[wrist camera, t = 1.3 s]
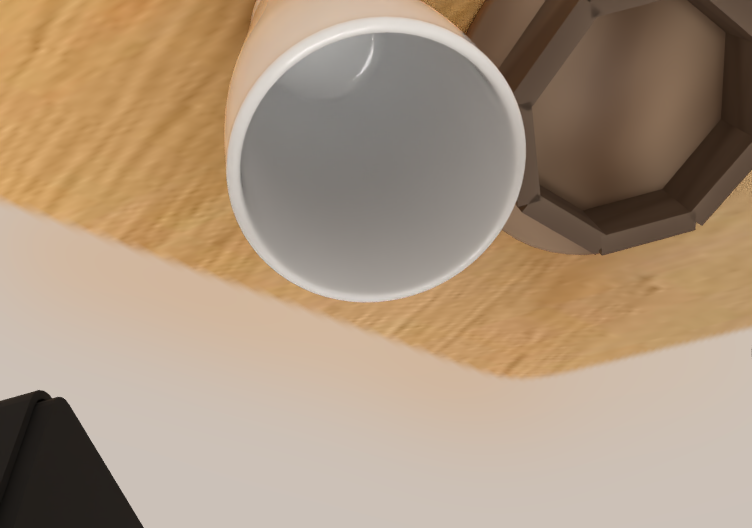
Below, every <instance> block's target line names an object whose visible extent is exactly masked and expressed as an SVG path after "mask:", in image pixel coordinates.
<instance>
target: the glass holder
mask: <svg viewBox="0 0 752 528" xmlns="http://www.w3.org/2000/svg"><path fill="white" fill-rule="evenodd" d="M466 35H467V36H468V37H469V38H470V39H471V40H472V41H473V42H474V43H475V45H476V46H477V47H478V48H479V49H480V50H481V51H482V52H483V53H484V54H485V55H486V56H487V57H488V58H489V59H490V60H491V61H492V62H493V63H494V64H495V66H496V67H497V68H498V70H499V71H500V72H501V74H502V75H503V76H504V78H505V79H506V81H507V83H508V85H509V86H510V88H511V90H512V92H513V94H514V96H515V99H516V101H517V103H518V106H519V109H520V112H521V115H522V120H523V125H524V130H525V139H526V162H525V171H524V176H523V181H522V185H521V189H520V192H519V195H518V198H517V201H516V203H515V206H514V208H513V210H512V212H511V214H510V216H509V218H508V220H507V222H506V224H505V225H504V227H503V228H502V230H503V231H505V232H506V233H508V234H509V235H511V236H512V237H514V238H515V239H517V240H519V241H521V242H524V243H526V244H528V245H530V246H532V247H536V248H539V249H542V250H546V251H549V252H555V253H562V254H573V255H589V254H595V255H596V254H599V253H600V254H601V255H606V254H609V253H613V252H617V251H620V250H624V249H628V248H631V247H635V246H639V245H642V244H646V243H650V242H653V241H657V240H661V239H664V238H668V237H672V236H675V235H679V234H683V233H686V232H690V231H694V230H695V226H696V222H697V223H698V224H700V225H703V224H704V223H705V222H706V221H707V220H708V218H709V217H710V216H711V215H712V214H713V213H714V212H715V211H716V209H717V208H718V207H719V206H720V205H721V204H722V203H723V201H724V200H725V199H726V198H727V197H728V196H729V195H730V194H731V192H732V191H733V190H734V189H735V188H736V187H737V186H738V185H739V183H740V182H741V181H742V180H743V179H744V178H745V177H746V175H747V174H748V173H749V172H750V171H751V170H752V0H486V1H485V2H484V4H483V5H482V6H481V8H480V10H479V11H478V13H477V15H476V17H475V18H474V20H473V22H472V24H471V25H470V27H469V29H468V31H467V33H466Z"/></svg>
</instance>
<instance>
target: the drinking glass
mask: <svg viewBox="0 0 752 528" xmlns="http://www.w3.org/2000/svg"><path fill="white" fill-rule="evenodd" d="M224 149H225V165H226V180H227V187H228V194H229V198H230V202H231V206H232V209H233V212H234V215H235V217H236V220H237V222H238V224H239V226H240V228H241V230H242V232H243V234H244V236H245V237H246V239H247V240H248V242H249V244H250V245H251V246H252V248H253V249H254V250H255V251H256V253H257V254H258V255H259V256H260V257H261V258H262V259H263V260H264V261H265V262H266V263H267V264H268V265H269V266H270V267H271V268H272V269H273V270H275V271H276V272H277V273H278V274H280V275H281V276H283V277H284V278H285V279H287V280H288V281H290V282H292V283H294V284H295V285H297V286H299V287H301V288H303V289H306V290H308V291H310V292H312V293H315V294H318V295H321V296H324V297H328V298H333V299H337V300H343V301H350V302H382V301H391V300H396V299H401V298H405V297H409V296H412V295H416V294H419V293H421V292H424V291H427V290H429V289H431V288H434V287H436V286H438V285H440V284H442V283H444V282H445V281H447V280H449V279H451V278H452V277H454V276H455V275H457V274H458V273H460V272H461V271H463V270H464V269H465V268H467V267H468V266H469V265H470V264H472V263H473V262H474V261H475V260H476V259H477V258H478V257H479V256H480V255H481V254H482V253H483V252H484V251H485V250H486V249H487V248H488V247H489V246H490V245H491V243H492V242H493V241H494V240H495V238H496V237H497V236H498V234H499V233H500V231H501V230H502V228H503V227H504V225H505V224H506V222H507V220H508V218H509V216H510V214H511V212H512V210H513V208H514V206H515V203H516V201H517V198H518V195H519V192H520V189H521V185H522V181H523V176H524V171H525V162H526V139H525V130H524V125H523V120H522V115H521V112H520V109H519V106H518V103H517V101H516V99H515V96H514V94H513V92H512V90H511V88H510V86H509V85H508V83H507V81H506V79H505V78H504V76H503V75H502V74H501V72H500V71H499V70H498V68H497V67H496V66H495V64H494V63H493V62H492V61H491V60H490V59H489V58H488V57H487V56H486V55H485V54H484V53H483V52H482V51H481V50H480V49H479V48H478V47H477V46H476V45H475V43H474V42H473V41H472V40H471V39H470V38H469V37H468V36H467V35H466V34H465V33H464V32H463V31H461V30H460V29H459V28H458V27H457V26H456V25H454V24H453V23H452V22H451V21H450V20H449V19H447V18H446V17H445V16H444V15H442V14H441V13H439V12H438V11H437V10H435V9H434V8H432V7H431V6H429V5H428V4H426V3H425V2H423V1H421V0H256V3H255V5H254V8H253V11H252V15H251V21H250V28H249V31H248V33H247V36H246V38H245V41H244V43H243V45H242V48H241V50H240V53H239V55H238V58H237V60H236V63H235V66H234V70H233V73H232V76H231V80H230V84H229V90H228V95H227V101H226V109H225V122H224Z"/></svg>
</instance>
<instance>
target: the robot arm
mask: <svg viewBox="0 0 752 528" xmlns="http://www.w3.org/2000/svg"><path fill="white" fill-rule="evenodd" d="M0 528H144V527H143V526H142V524H141V523H140V521H139V519H138V518H137V516H136V514H135V513H134V511H133V509H132V508H131V506H130V504H129V503H128V501H127V499H126V498H125V496H124V494H123V493H122V491H121V489H120V488H119V486H118V484H117V483H116V481H115V480H114V478H113V476H112V475H111V473H110V471H109V470H108V468H107V466H106V465H105V463H104V461H103V460H102V458H101V456H100V455H99V453H98V452H97V450H96V448H95V446H94V445H93V443H92V442H91V440H90V438H89V437H88V435H87V433H86V432H85V430H84V428H83V427H82V425H81V423H80V422H79V420H78V418H77V417H76V415H75V413H74V412H73V410H72V408H71V407H70V405H69V404H68V403H67V401H66V400H65V399H64V398H62V397H56V398H51V396H50V395H49V394H48V393H46V392H45V391H40V390H38V391H35V392H31V393H27V394H24V395H20V396H17V397H13V398H9V399H6V400H2V401H0Z"/></svg>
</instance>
